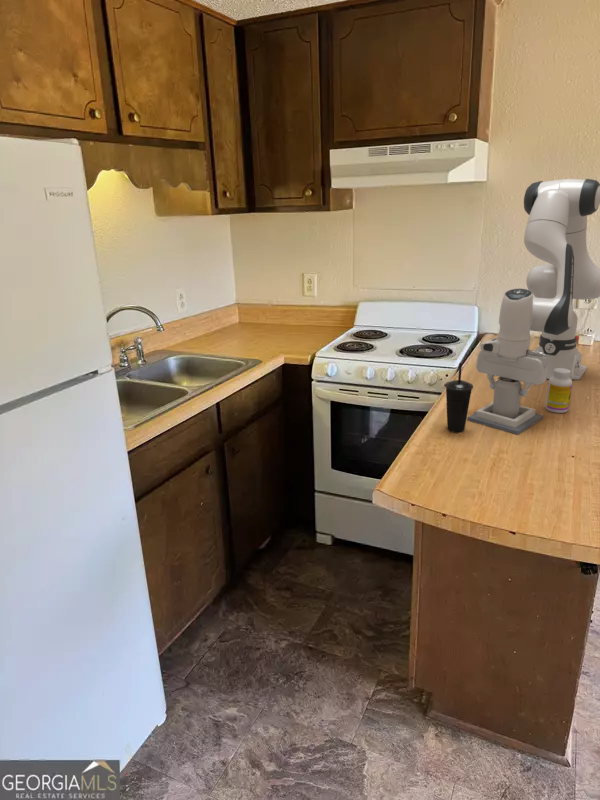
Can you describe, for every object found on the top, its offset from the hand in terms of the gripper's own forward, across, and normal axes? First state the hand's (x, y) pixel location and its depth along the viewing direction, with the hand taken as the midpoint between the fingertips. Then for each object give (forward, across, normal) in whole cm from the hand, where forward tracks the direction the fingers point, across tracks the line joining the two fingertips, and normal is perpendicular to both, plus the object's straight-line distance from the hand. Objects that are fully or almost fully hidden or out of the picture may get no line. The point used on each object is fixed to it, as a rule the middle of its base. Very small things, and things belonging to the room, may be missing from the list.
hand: (508, 391), depth 169 cm
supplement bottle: (+9, -8, -17) cm, 21 cm away
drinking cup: (+9, +7, +16) cm, 20 cm away
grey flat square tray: (+9, 0, 0) cm, 9 cm away
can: (+8, 0, +1) cm, 8 cm away
